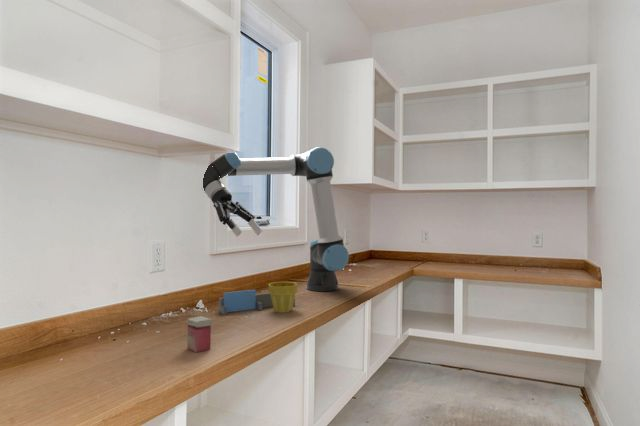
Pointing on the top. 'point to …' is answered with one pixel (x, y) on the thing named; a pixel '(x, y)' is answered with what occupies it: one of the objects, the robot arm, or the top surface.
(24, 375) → the top surface
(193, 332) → the small box
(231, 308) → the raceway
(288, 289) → the plant pot
